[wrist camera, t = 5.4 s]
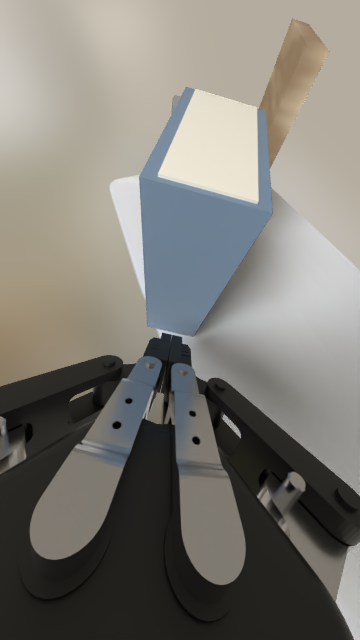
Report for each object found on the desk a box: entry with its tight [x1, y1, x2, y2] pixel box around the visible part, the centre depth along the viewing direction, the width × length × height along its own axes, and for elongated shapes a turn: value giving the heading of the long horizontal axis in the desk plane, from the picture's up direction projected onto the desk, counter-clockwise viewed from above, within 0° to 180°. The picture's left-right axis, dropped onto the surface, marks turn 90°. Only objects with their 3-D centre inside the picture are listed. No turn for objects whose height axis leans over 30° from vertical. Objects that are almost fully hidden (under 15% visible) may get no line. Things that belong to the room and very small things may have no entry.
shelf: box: [172, 19, 330, 167], centre depth 20 cm, size 11×12×16 cm
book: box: [139, 87, 273, 337], centre depth 15 cm, size 5×10×14 cm, turn 169°
